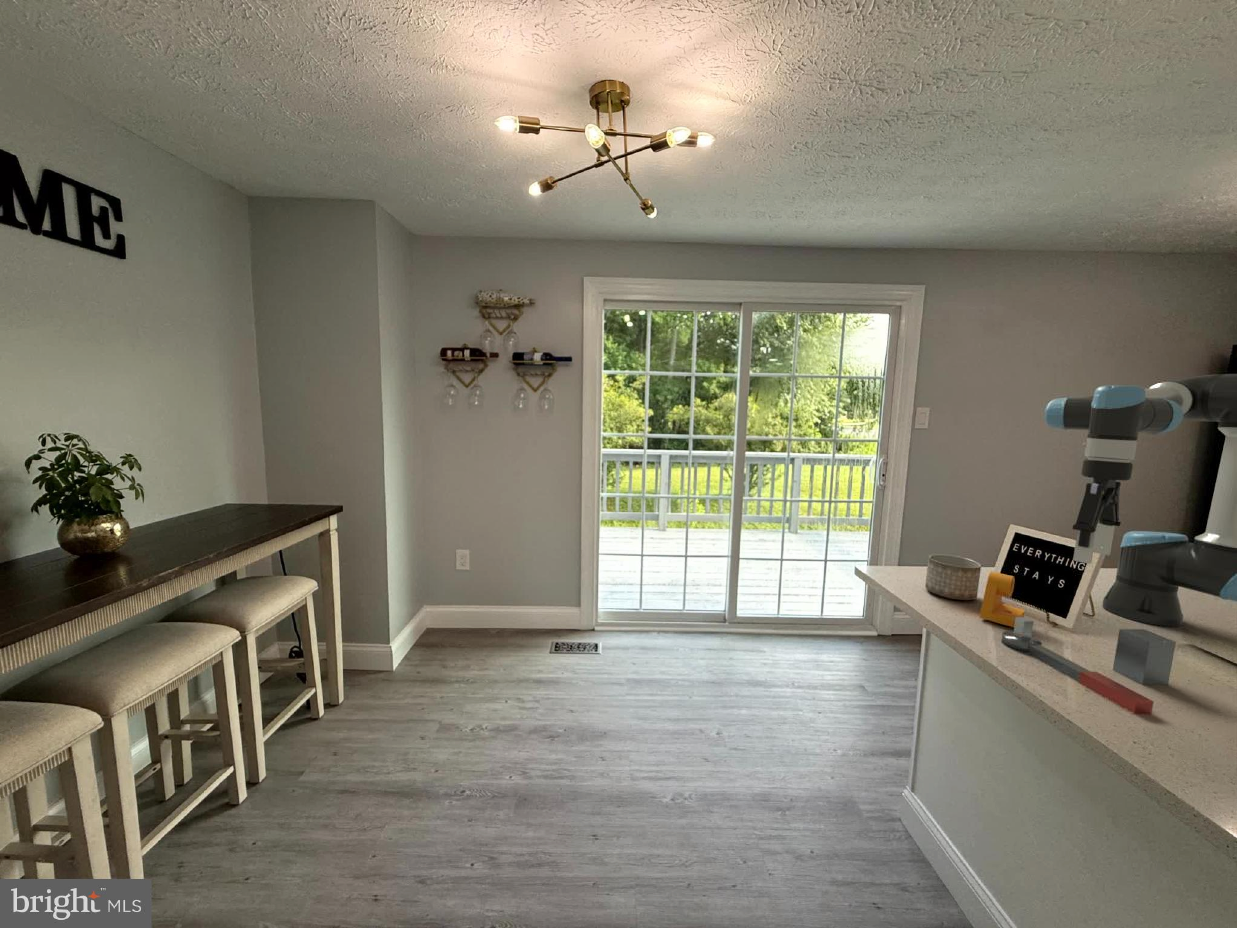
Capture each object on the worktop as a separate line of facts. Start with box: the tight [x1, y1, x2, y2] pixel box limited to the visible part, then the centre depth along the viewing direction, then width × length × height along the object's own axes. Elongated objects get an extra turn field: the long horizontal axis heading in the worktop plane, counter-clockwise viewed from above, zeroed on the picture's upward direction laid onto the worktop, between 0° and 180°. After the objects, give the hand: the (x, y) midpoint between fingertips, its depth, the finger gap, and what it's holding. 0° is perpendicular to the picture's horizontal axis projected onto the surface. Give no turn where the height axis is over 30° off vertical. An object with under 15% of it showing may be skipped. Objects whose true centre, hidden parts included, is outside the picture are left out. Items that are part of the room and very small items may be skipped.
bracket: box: [979, 571, 1026, 628], centre depth 127 cm, size 11×7×12 cm
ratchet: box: [1001, 616, 1154, 715], centre depth 102 cm, size 28×7×6 cm, turn 4°
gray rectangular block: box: [1112, 628, 1177, 686], centre depth 101 cm, size 6×6×9 cm
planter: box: [924, 553, 982, 601], centre depth 144 cm, size 13×13×10 cm
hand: (1091, 557), depth 107 cm, fingers open, 13 cm apart
